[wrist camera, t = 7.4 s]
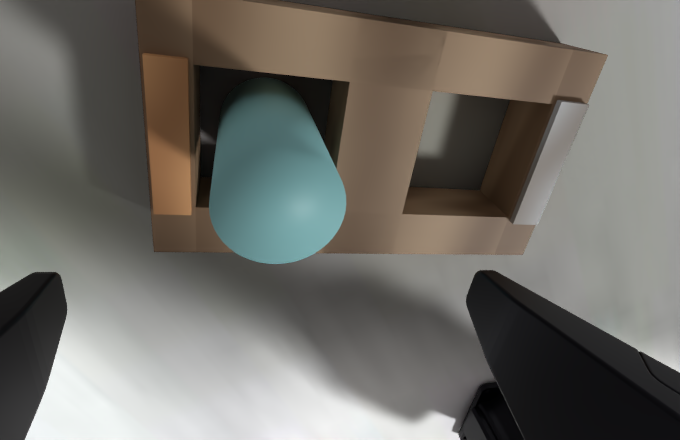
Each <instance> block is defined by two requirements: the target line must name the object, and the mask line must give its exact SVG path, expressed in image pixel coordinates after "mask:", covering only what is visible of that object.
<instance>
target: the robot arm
mask: <svg viewBox="0 0 680 440" xmlns="http://www.w3.org/2000/svg"><path fill="white" fill-rule="evenodd" d="M466 304H467V308H468V311H469V314H470V317H471V319H472V322H473V325H474V328H475V330H476V333H477V336H478V339H479V341H480V344H481V347H482V350H483V352H484V355H485V358H486V360H487V362H488V365H489V367H490V369H491V371H492V373H493V375H494V377H495V380H496V382H497V383H488V384H483V385H482V386H480V388H479V389H478V392H477V394H476V396H475V398H474V400H473V403H472V405H471V407H470V409H469V412H468V414H467V416H466V418H465V421H464V423H463V425H462V427H461V429H460V432H459V434H458V435H459V437H460V439H461V440H680V373H679V372H678V371H676V370H674V369H672V368H670V367H668V366H666V365H665V364H663V363H661V362H659V361H657V360H655V359H653V358H652V357H650V356H648V355H646V354H644V353H643V352H638V350H637V349H635V348H633V347H632V346H630V345H628V344H626V343H624V342H623V341H621V340H619V339H617V338H615V337H614V336H612V335H610V334H608V333H606V332H605V331H603V330H601V329H599V328H597V327H595V326H594V325H592V324H590V323H588V322H586V321H585V320H583V319H581V318H579V317H577V316H576V315H574V314H572V313H570V312H568V311H567V310H565V309H563V308H561V307H559V306H557V305H556V304H554V303H552V302H550V301H548V300H547V299H545V298H543V297H541V296H539V295H538V294H536V293H534V292H532V291H530V290H529V289H527V288H525V287H523V286H521V285H520V284H518V283H516V282H514V281H512V280H510V279H509V278H507V277H505V276H503V275H501V274H500V273H498V272H496V271H493V270H480V271H478V272H477V273H476V274H475V275H474V278H473V281H472V283H471V286H470V289H469V291H468V294H467V297H466ZM66 315H67V303H66V298H65V293H64V288H63V284H62V279H61V277H60V275H59V274H58V273H56V272H34V273H32V274H30V275H28V276H26V277H25V278H23V279H21V280H20V281H18V282H16V283H15V284H13V285H11V286H10V287H8V288H6V289H5V290H3V291H1V292H0V440H25V438H26V435H27V433H28V430H29V428H30V426H31V423H32V421H33V419H34V416H35V414H36V411H37V409H38V407H39V404H40V402H41V399H42V397H43V394H44V392H45V389H46V386H47V383H48V380H49V376H50V373H51V369H52V366H53V362H54V359H55V355H56V352H57V348H58V344H59V341H60V337H61V334H62V330H63V327H64V323H65V320H66Z"/></svg>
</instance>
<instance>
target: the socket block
mask: <svg viewBox="0 0 680 440" xmlns="http://www.w3.org/2000/svg"><path fill="white" fill-rule="evenodd" d="M135 5H136V18H137V32H138V45H139V59H140V72H141V85H142V99H143V112H144V126H145V139H146V152H147V166H148V179H149V193H150V206H151V220H152V233H153V246H154V252H234V251H232V250H231V249H230V248H229V247H228V246H226V245H225V244H224V243H223V241H222V240H221V239H220V238H219V236H218V235H217V233H216V231H215V230H214V227H213V225H212V222H211V218H210V213H209V200H210V191H211V183H212V177H201V147H200V65H201V66H211V67H220V68H229V69H238V70H247V71H256V72H265V73H274V74H283V75H292V76H301V77H310V78H320V79H329V80H333V82H332V89H331V97H330V104H329V112H328V119H327V126H326V134H325V141H324V144H325V146H326V148H327V150H328V152H329V154H330V157H331V159H332V161H333V163H334V165H335V167H336V169H337V171H338V174H339V176H340V178H341V180H342V182H343V185H344V188H345V193H346V211H345V215H344V219H343V221H342V224H341V226H340V228H339V230H338V231H337V233H336V234H335V236H334V237H333V238H332V239H331V240H330V242H329V243H328V244H327V245H325V246H324V247H323V248H322V249H320V250H319V251H317V252H316V253H359V254H485V255H523V253H524V251H525V248H526V246H527V244H528V241H529V239H530V237H531V234H532V232H533V230H534V227H535V225H538V223H539V221H540V218H541V216H542V214H543V211H544V209H545V207H546V204H547V202H548V200H549V197H550V195H551V193H552V191H553V188H554V186H555V184H556V181H557V179H558V177H559V174H560V172H561V170H562V167H563V165H564V163H565V160H566V158H567V156H568V153H569V151H570V149H571V146H572V144H573V142H574V139H575V137H576V135H577V132H578V130H579V128H580V125H581V123H582V121H583V118H584V116H585V114H586V111H587V109H588V107H589V105H588V104H587V103H588V101H589V98H590V96H591V94H592V91H593V89H594V87H595V84H596V82H597V80H598V77H599V75H600V73H601V70H602V68H603V66H604V63H605V61H606V59H607V56H608V55H606V54H602V53H598V52H594V51H590V50H586V49H582V48H578V47H574V46H570V45H566V44H562V43H556V42H549V41H542V40H536V39H529V38H523V37H516V36H510V35H503V34H496V33H490V32H483V31H477V30H470V29H464V28H457V27H450V26H444V25H437V24H431V23H424V22H418V21H411V20H404V19H398V18H391V17H385V16H378V15H372V14H365V13H358V12H352V11H345V10H339V9H332V8H326V7H319V6H313V5H306V4H299V3H293V2H286V1H280V0H135ZM433 91H438V92H447V93H456V94H465V95H474V96H483V97H492V98H501V99H510V102H509V105H508V108H507V111H506V114H505V117H504V120H503V123H502V126H501V129H500V132H499V135H498V138H497V141H496V144H495V146H494V149H493V152H492V155H491V158H490V161H489V164H488V167H487V170H486V173H485V176H484V179H483V182H482V185H481V188H480V190H463V189H443V188H423V187H409V184H410V180H411V176H412V172H413V168H414V164H415V160H416V156H417V152H418V148H419V144H420V140H421V136H422V132H423V128H424V124H425V120H426V116H427V112H428V108H429V104H430V100H431V96H432V92H433ZM234 253H235V252H234Z"/></svg>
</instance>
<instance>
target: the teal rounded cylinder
mask: <svg viewBox="0 0 680 440" xmlns="http://www.w3.org/2000/svg"><path fill="white" fill-rule="evenodd" d="M345 211H346V193H345V188H344V185H343V182H342V180H341V178H340V176H339V174H338V171H337V169H336V167H335V165H334V163H333V161H332V159H331V157H330V154H329V152H328V150H327V148H326V146H325V144H324V142H323V140H322V137H321V135H320V133H319V131H318V129H317V127H316V125H315V123H314V120H313V118H312V116H311V114H310V112H309V110H308V108H307V106H306V104H305V102H304V100H303V98H302V97H301V95H300V94H299V93H298V92H297V91H296V90H295V89H294V88H293V87H291V86H290V85H288V84H287V83H285V82H282V81H280V80H277V79H273V78H263V77H262V78H254V79H250V80H247V81H245V82H243V83H241V84H239V85H238V86H236V87H235V88H234V89H233V90H232V91H231V92H230V93H229V94H228V96H227V97H226V99H225V100H224V102H223V105H222V107H221V112H220V118H219V126H218V134H217V142H216V151H215V159H214V167H213V175H212V183H211V191H210V200H209V213H210V218H211V222H212V225H213V227H214V230H215V231H216V233H217V235H218V236H219V238H220V239H221V240H222V241H223V243H224V244H225V245H226V246H228V247H229V248H230V249H231V250H232V251H234V252H235V253H237V254H239V255H240V256H242V257H244V258H247V259H249V260H252V261H256V262H260V263H266V264H284V263H290V262H295V261H298V260H301V259H304V258H306V257H309V256H311V255H312V254H314V253H316V252H317V251H319V250H320V249H322V248H323V247H324V246H325V245H327V244H328V243H329V242H330V240H331V239H332V238H333V237H334V236H335V234H336V233H337V231H338V230H339V228H340V226H341V224H342V221H343V219H344V215H345Z"/></svg>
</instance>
